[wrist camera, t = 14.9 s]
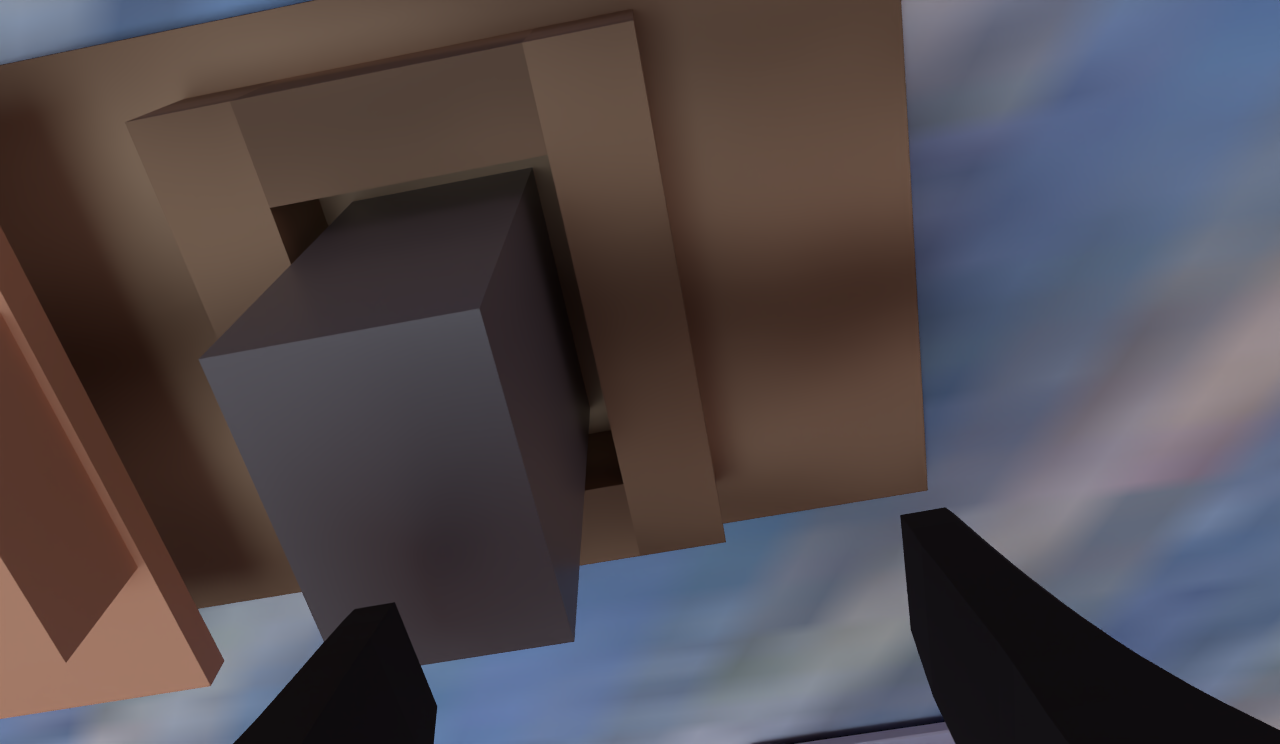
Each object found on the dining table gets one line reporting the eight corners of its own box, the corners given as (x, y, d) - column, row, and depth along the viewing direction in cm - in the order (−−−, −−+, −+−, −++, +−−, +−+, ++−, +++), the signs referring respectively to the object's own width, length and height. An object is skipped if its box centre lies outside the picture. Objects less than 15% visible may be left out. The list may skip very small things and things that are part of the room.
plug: (590, 409, 22) (574, 641, 15) (431, 436, 22) (340, 677, 15) (532, 167, 19) (479, 307, 12) (352, 201, 20) (197, 358, 13)
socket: (918, 473, 24) (960, 550, 21) (199, 591, 25) (143, 679, 22) (883, -118, 18) (935, -126, 15) (-63, 78, 19) (-186, 105, 16)
